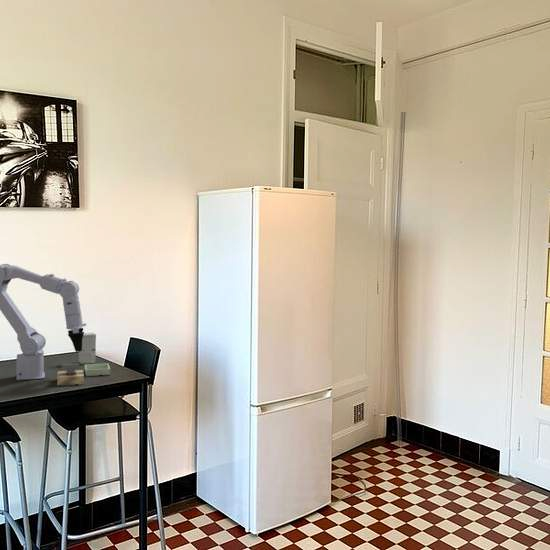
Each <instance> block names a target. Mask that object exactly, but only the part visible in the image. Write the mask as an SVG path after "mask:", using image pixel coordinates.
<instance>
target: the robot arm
mask: <svg viewBox="0 0 550 550" xmlns="http://www.w3.org/2000/svg"><path fill="white" fill-rule="evenodd" d="M12 279H13V280H15V279H19V280H22V281H27V282H30V283H33V284H37V285H39V287H40V288H41V289H42V290H45V291H48V292H51V293H53V294H56V295H60V297H62V302H63V310H64V311H63V312H64V318H65V323H66V325H65V326H66V327H65V328H66V330H67V332H68V333H67V336H68V337H69V338H70V340H71V342H72V345H73V348H74V350H75V352H76V353H79V351H82V338H83V335H84V333H85V331H84V327H86V326H87V323H84V322H83V316H82V311H81V310H82V309H81V303H80V299H79V294H78V293H79V292H80V286H79V284H78V283H77V282H75V281H73V280H68V281H67V279H66V278H63V279H62V278H60V277H57V276H55V274H53V273H50V274H49V273H46V274H45V275H40V274H38V273H35V272H32V271H31V270H30V271H29V270H27V269H25V268H22V267H19V266H17V265H13V264H12V265H10V264H8V263H3V264H0V312H1V313H2V315H3V316H4V318H5V319H6V320H7V322H8V323H9V325H10V326H11V328H12V329H13V331H14V332H15V333H16V334H17V342H18V343H19V347H20V351H21V352H22V353H19V354H16V369H15V375H16V381H23V380H24V381H25V380H26V381H27V380H38V379H39V380H41V379H45V377H46V372H45V371H44V365H45V364H44V363H45V362H44V358H45V357H44V354H45V353H44V349H43V348H44V347H45V346H46V343H47V342H46V338H45V336H44V335H43V334H41V333H40V332H38V331H37V330H36V328H34V327H32V326H31V325H30V324H29V322H28V321H27V319H26V318H25V317H24V315H23V314H22V312H21V311H20V310H19V308H18V306H17V305H16V303H15V302H14V301H13V299H12V298H11V297H10V295H9V293H8V292H7V289H8V286H9V283H10V282H11V281H12Z"/></svg>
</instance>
